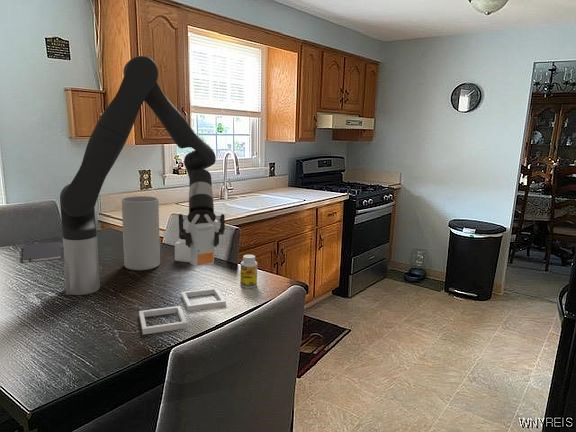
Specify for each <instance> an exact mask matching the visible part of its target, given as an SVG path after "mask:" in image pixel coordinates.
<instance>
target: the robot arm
mask: <svg viewBox="0 0 576 432" xmlns="http://www.w3.org/2000/svg"><path fill="white" fill-rule="evenodd" d="M158 68H159V67H158V66H157V64H156V62H155V61H154V60H153V59H152V58H150V57H149V56H146V55H137V56H134V57H132V58H131V59H130V60H128V62H126V63H125V65H124V67H123V78H122V81H121V84H120V85H119V88H118V90H117V92H116V94H115V96H114V97H113V99H112V100H111V101H110V103H109V104H108V106H106V108H105V110H104V111H103V113H102V114H101V115H100V117H99V119H98V120H97V123H96V124H95V126H94V128H93V130H92V132H91V135H90V138H89V139H88V142H87V145H86V147H85V151H84V154H83V159H82V162H81V164H80V166H79V169H78V171H77V172H76V174H75V176H74V177H73V179H72V181H71V182H70V183H69V184H67V185H65V186H64V187H63V188H62V190H61V191H60V194H59V205H60V218H61V231H62V242H63V243H62V244H63V245H62V246H63V256H64V257H63V258H64V264H63V267H64V268H63V270H64V272H63V273H64V284H65V295H66V296H69V295H72V296H83V295H84V296H85V295H90V294H93V293H96V292H97V291H99V289H100V284H101V283H100V271H99V268H100V267H99V253H98V232H97V230H98V229H97V224H96V222H97V221H96V213H95V207H96V204H97V201H98V197H99V195H100V193H101V191H102V187H103V184H104V182H105V180H106V177H107V176H108V174H109V173H110V171H111V169H112V168H113V166H114V165H115V163H116V161H117V159H118V158H119V156H120V154H121V153H122V150H123V149H124V146H125V145H126V143H127V141H128V139H129V136H130V134H131V131H132V129H133V127H134V124H135V122H136V119H137V118H138V114H139V111H140V109H141V107H142V105H143V104H144V102H145V103H146V104H147V105H148V107H149V108H150V109H151V111H152V112H153V113H154V114H155V116H156V117H157V119H158V120H159V122H160V123H161V125H162V126H163V128H164V129H165V131H166V132H167V134H168V135H169V136H170V137H171V140H172V141H173V142H174V144H175V145H176V146H177V147H178V148H179V149H186V148H191V149H192V151H190V152H188V153H187V154H186V155H185V156H184V160H183V165H184V166H185V170H186V172H187V175H188V180H189V181H188V182H189V191H188V214H187V215H183V213H180V214H178V235H179V234H180V235H184V236H185V237H186V246H188V248H190V246H191V243H190V225H193V224H201V223H210V224H212V225H214V226H215V233H214V248H217V246H219V244H220V235H221V236H222V235H224V234H225V229H226V228H225V227H226V224H225V222H226V221H225V220H226V219H225V218H226V217H225V214H223V213H222V214H220V215H216V214H215V206H214V204H215V203H214V192H213V188H212V187H213V185H212V184H213V183H212V175H211V173H210V171H208V170H206V169H208V168H210V167H212V166H213V165H214V164H216V161H217V158H216V154H215V151H214V150H213V149H212V147H211V146H210V145H209V144H207V143H206V142H205V141H204V140H203V139H201V138H200V137H199V135H197V134H196V133H195V132H194V130H193V129H192V127H191V125H190V124H189V123H188V120H187V119H186V118H185V117H184V115H183V114H182V113H181V112H180V111H179V109H177V107H175V105H174V104H173V103H171V101H170V99H168V97H167V96H166V95H165V93H164V92H163V90H162V89H161V86H160V85H159V83H158V79H159V69H158ZM186 221H188V222H189V224H188V227H187V228H184V224H185V223H186ZM215 221H217V223H219V228H218V227H217V226H216V224H215ZM185 229H186V230H185Z"/></svg>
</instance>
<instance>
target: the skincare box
mask: <svg viewBox="0 0 576 432" xmlns="http://www.w3.org/2000/svg"><path fill="white" fill-rule="evenodd" d="M215 226H216V225H215ZM215 226H214V225H212V224H210V223H201V224H193V225H190V243H191V246H190V262H189V263H190V264H191V265H192V266H194V267H195V268H196V267H201V266H209V265H214V263H215V247H214V233H215Z"/></svg>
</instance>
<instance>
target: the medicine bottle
mask: <svg viewBox="0 0 576 432" xmlns="http://www.w3.org/2000/svg"><path fill="white" fill-rule="evenodd" d="M184 229H185V230H186V229H187V228H184ZM178 239H179V241H177V242H175V243H174V261H176V262H184V263H190V248H188V246H186V237H185V236H184V235H180V234H179V233H178Z"/></svg>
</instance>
